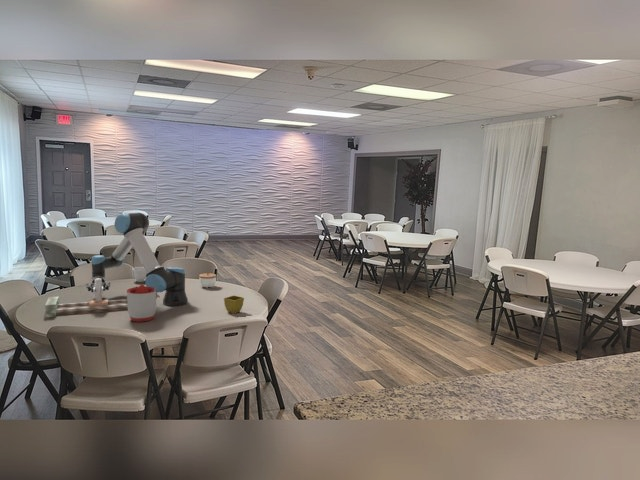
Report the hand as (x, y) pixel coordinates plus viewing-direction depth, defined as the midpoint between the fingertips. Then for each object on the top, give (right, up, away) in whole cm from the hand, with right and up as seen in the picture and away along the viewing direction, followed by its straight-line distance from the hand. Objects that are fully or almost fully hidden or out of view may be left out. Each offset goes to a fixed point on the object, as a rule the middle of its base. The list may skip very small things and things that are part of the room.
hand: (98, 291), depth 252 cm
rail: (-5, -11, +5) cm, 13 cm away
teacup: (-7, -2, +79) cm, 80 cm away
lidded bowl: (+46, -5, +70) cm, 84 cm away
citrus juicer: (+30, -15, -9) cm, 35 cm away
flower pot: (+77, -14, +11) cm, 79 cm away
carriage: (-3, -9, +6) cm, 11 cm away
